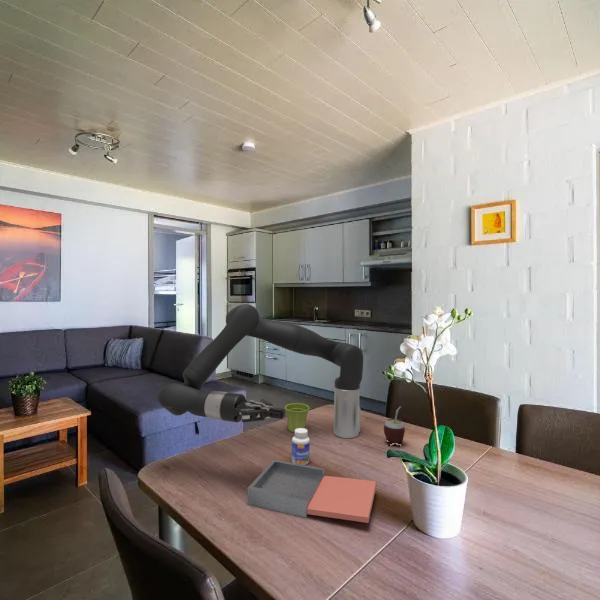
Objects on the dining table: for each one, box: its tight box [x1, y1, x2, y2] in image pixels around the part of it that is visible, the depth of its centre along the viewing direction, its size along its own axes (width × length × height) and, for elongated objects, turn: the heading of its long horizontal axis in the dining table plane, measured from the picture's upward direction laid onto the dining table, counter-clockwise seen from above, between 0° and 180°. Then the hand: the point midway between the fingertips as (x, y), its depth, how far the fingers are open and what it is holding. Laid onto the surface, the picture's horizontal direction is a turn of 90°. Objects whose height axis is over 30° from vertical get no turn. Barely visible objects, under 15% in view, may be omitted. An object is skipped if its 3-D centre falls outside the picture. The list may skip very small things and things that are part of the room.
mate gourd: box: [383, 405, 406, 445], centre depth 124 cm, size 8×8×15 cm
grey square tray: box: [247, 459, 325, 519], centre depth 92 cm, size 15×16×4 cm
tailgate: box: [307, 475, 377, 524], centre depth 88 cm, size 2×16×14 cm
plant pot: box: [284, 402, 311, 433], centre depth 135 cm, size 9×9×9 cm
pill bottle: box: [291, 428, 311, 466], centre depth 109 cm, size 5×5×10 cm
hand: (284, 414), depth 93 cm, fingers closed
